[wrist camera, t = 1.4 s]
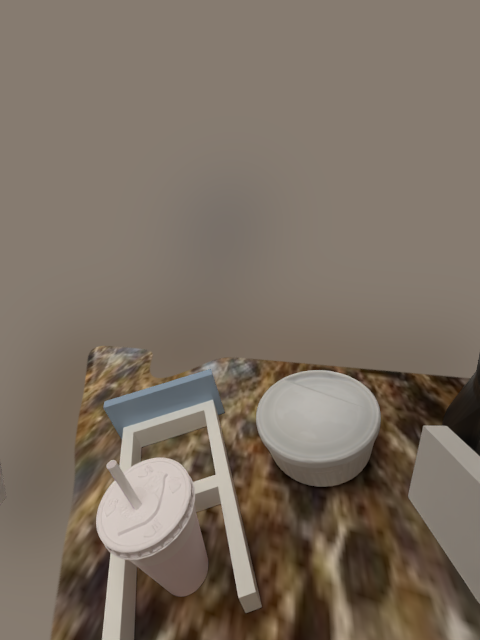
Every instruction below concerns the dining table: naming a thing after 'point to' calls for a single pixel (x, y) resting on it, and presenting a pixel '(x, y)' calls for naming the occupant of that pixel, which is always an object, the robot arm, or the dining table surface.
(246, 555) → the drawer frame
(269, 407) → the ramekin
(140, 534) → the smoothie
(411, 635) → the dining table surface
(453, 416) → the robot arm
